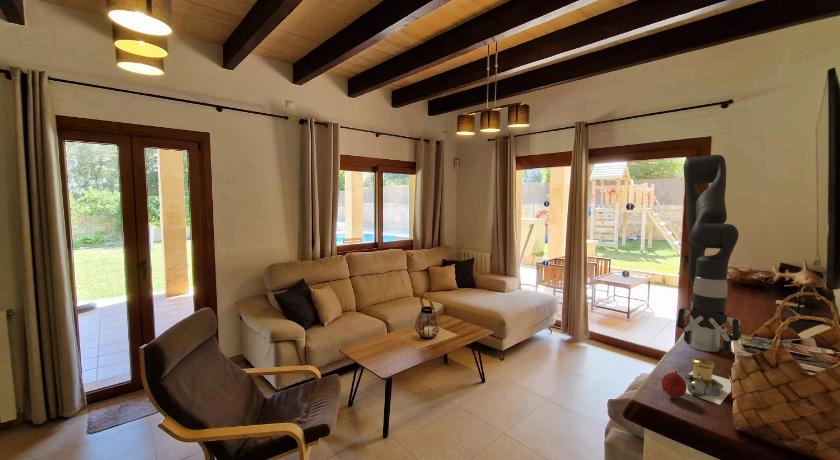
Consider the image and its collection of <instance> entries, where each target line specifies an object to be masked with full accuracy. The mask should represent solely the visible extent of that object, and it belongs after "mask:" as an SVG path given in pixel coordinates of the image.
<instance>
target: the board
mask: <svg viewBox="0 0 840 460" xmlns="http://www.w3.org/2000/svg"><path fill="white" fill-rule="evenodd" d="M688 374H690V375H693V370H692V371H690V372H689V373H688ZM682 378H683V379H684V377H682ZM712 379H715V380H716V381H718V382H719V383H721V384H722V385H723V393H722V394H721V395H720V396H706V395H702V396H699V397H697V396H694V395H692V394H691V393H690V392H689V391H688V388H687V390H686V392H685V393H684V394H683V396H685V397H686V395H685V394H688V395H691V396H694V397H697V398H700V399H702V400H706V401H708V402H711V403H714V404H717V405H721V404H722V403H723V402H724V400H725V399H726V398H727V396H728V395H729V394H730V393H731V392H732V391H733V389H732V390H731V383H730V380H731V379H729V378H725V377H722V376H718V375H714V374H712ZM691 399H693V400H696V401H699V402H701V403H703V401H700V400H698V399H695V398H693V397H691ZM708 405H710V406H713V407H716V408H717V406H716V405H712V404H710V403H708Z"/></svg>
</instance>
